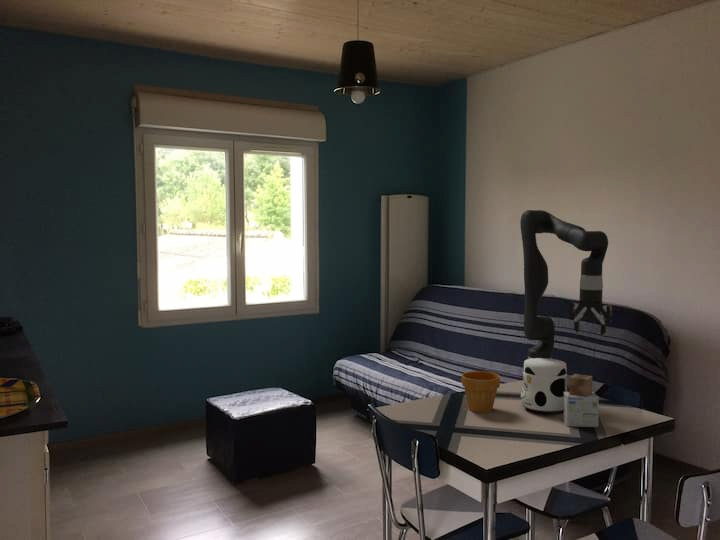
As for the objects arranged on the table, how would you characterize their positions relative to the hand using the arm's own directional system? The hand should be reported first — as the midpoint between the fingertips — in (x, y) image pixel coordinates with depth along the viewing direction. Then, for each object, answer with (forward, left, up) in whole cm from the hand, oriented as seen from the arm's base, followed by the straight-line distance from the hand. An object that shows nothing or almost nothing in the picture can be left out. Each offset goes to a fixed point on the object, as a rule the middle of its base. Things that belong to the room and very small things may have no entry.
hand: (589, 333), depth 217 cm
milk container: (-17, +2, -31) cm, 35 cm away
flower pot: (-37, -11, -31) cm, 49 cm away
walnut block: (-1, -8, -20) cm, 22 cm away
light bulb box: (-1, -8, -31) cm, 32 cm away
